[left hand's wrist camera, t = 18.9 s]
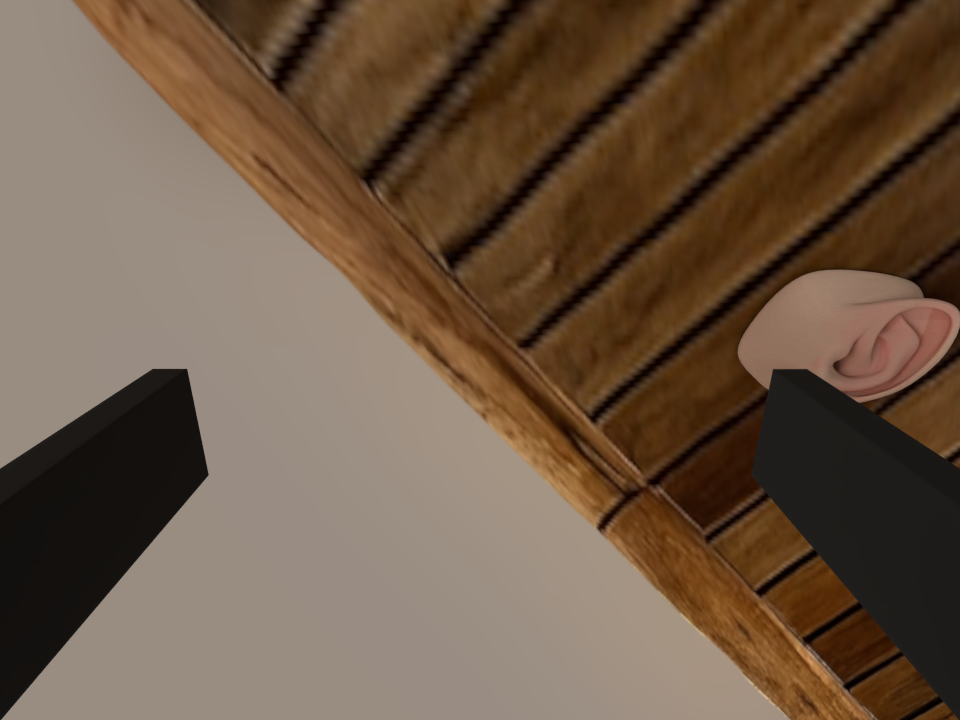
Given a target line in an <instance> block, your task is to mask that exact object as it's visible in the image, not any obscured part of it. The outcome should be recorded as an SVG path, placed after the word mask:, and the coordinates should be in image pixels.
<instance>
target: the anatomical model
mask: <svg viewBox="0 0 960 720" xmlns="http://www.w3.org/2000/svg"><path fill="white" fill-rule="evenodd" d="M959 328H960V312H959V310H958V309H957V308H956V307H955V306H954V305H952V304H950V303H948V302H945V301H941V300H937V299H930V298H924V297H923V293H922V291H921V289H920V288H919V287H918V286H917V285H916V284H915V283H913V282H911V281H909V280H906V279H903V278H900V277H896V276H892V275H887V274H881V273H875V272H867V271H856V270H823V271H816V272H812V273H808V274H806V275H803V276H801V277H799V278H797V279H795V280H794V281H792V282H791V283H789V284H788V285H786V286H785V287H784V288H783V289H781V290H780V291H779V292H778V293H777V294H776V295H775V296H774V297H773V298H772V299H771V300H770V301H769V302H768V303H767V304H766V305H765V306H764V308H763V309H762V310H761V311H760V312H759V313H758V315H757V316H756V317H755V319H754V320H753V321H752V323H751V324H750V325H749V327H748V329H747V330H746V332H745V333H744V335H743V337H742V339H741V341H740V343H739V346H738V357H739V359H740V361H741V363H742V364H743V366H744V367H745V368H746V370H747V371H748V372H749V373H750V374H751V375H752V376H753V377H754V378H755V379H756V380H757V381H758V382H759V383H760V384H762V385H763V386H764V387H765V388H767V389H768V390H769V386H770V381H771V376H772V371H773V369H808V370H809V371H811V372H812V373H814V374H816V375H817V376H819V377H820V378H822V379H823V380H825V381H826V382H828V383H829V384H831V385H832V386H834V387H835V388H837V389H838V390H840V391H842V392H843V393H845V394H846V395H848V396H849V397H851V398H852V399H854V400H855V401H857V402H858V403H861V402H865V401H869V400H873V399H877V398H881V397H884V396H887V395H890V394H892V393H895V392H897V391H899V390H901V389H903V388H905V387H907V386H908V385H910V384H912V383H913V382H914V381H916V380H917V379H919V378H920V377H922V376H923V375H924V374H925V373H927V372H928V371H929V370H930V369H931V368H932V367H933V366H935V365H936V364H937V363H938V362H939V360H940V359H941V358H942V357H943V356H944V355H945V353H946V352H947V351H948V349H949V348H950V346H951V345H952V343H953V341H954V339H955V338H956V336H957V333H958V331H959Z"/></svg>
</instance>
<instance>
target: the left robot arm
mask: <svg viewBox="0 0 960 720" xmlns="http://www.w3.org/2000/svg"><path fill="white" fill-rule="evenodd" d="M207 476H208V470H207V465H206V460H205V455H204V450H203V445H202V440H201V435H200V430H199V425H198V420H197V416H196V411H195V406H194V401H193V396H192V391H191V386H190V381H189V376H188V371H187V369H152V370H151V371H149V372H148V373H146V374H144V375H143V376H141V377H140V378H138V379H137V380H135V381H134V382H132V383H131V384H129V385H128V386H126V387H125V388H123V389H122V390H120V391H118V392H117V393H115V394H114V395H112V396H111V397H109V398H108V399H106V400H105V401H103V402H102V403H100V404H99V405H97V406H95V407H94V408H92V409H91V410H89V411H88V412H86V413H85V414H83V415H82V416H80V417H79V418H77V419H76V420H74V421H73V422H71V423H70V424H68V425H66V426H65V427H63V428H62V429H60V430H59V431H57V432H56V433H54V434H53V435H51V436H50V437H48V438H47V439H45V440H43V441H42V442H40V443H39V444H37V445H36V446H34V447H33V448H31V449H30V450H28V451H27V452H25V453H24V454H22V455H21V456H19V457H17V458H16V459H14V460H13V461H11V462H10V463H8V464H7V465H5V466H4V467H2V468H1V469H0V720H1V719H2V718H3V717H4V716H5V714H6V713H7V712H8V711H9V710H10V709H11V707H12V706H13V705H14V704H15V703H16V702H17V700H18V699H19V698H20V697H21V696H22V694H23V693H24V692H25V691H26V690H27V688H28V687H29V686H30V685H31V684H32V683H33V681H34V680H35V679H36V678H37V677H38V675H39V674H40V673H41V672H42V671H43V670H44V668H45V667H46V666H47V665H48V664H49V663H50V661H51V660H52V659H53V658H54V657H55V656H56V654H57V653H58V652H59V651H60V650H61V648H62V647H63V646H64V645H65V644H66V643H67V641H68V640H69V639H70V638H71V637H72V636H73V634H74V633H75V632H76V631H77V630H78V628H79V627H80V626H81V625H82V624H83V623H84V621H85V620H86V619H87V618H88V617H89V615H90V614H91V613H92V612H93V611H94V610H95V608H96V607H97V606H98V605H99V604H100V602H101V601H102V600H103V599H104V598H105V597H106V595H107V594H108V593H109V592H110V591H111V590H112V588H113V587H114V586H115V585H116V584H117V582H118V581H119V580H120V579H121V578H122V577H123V575H124V574H125V573H126V572H127V571H128V569H129V568H130V567H131V566H132V565H133V564H134V562H135V561H136V560H137V559H138V558H139V556H140V555H141V554H142V553H143V552H144V551H145V549H146V548H147V547H148V546H149V545H150V544H151V542H152V541H153V540H154V539H155V538H156V536H157V535H158V534H159V533H160V532H161V531H162V529H163V528H164V527H165V526H166V525H167V524H168V522H169V521H170V520H171V519H172V518H173V516H174V515H175V514H176V513H177V512H178V511H179V509H180V508H181V507H182V506H183V505H184V503H185V502H186V501H187V500H188V499H189V498H190V496H191V495H192V494H193V493H194V492H195V490H196V489H197V488H198V487H199V486H200V485H201V483H202V482H203V481H204V480H205V479H206V477H207ZM752 476H753V478H754V479H755V480H756V481H757V482H758V483H759V485H760V486H761V487H762V488H763V489H764V491H765V492H766V493H767V494H768V495H769V496H770V498H771V499H772V500H773V501H774V502H775V504H776V505H777V506H778V507H779V508H780V509H781V511H782V512H783V513H784V514H785V515H786V516H787V518H788V519H789V520H790V521H791V522H792V524H793V525H794V526H795V527H796V528H797V529H798V531H799V532H800V533H801V534H802V535H803V537H804V538H805V539H806V540H807V541H808V542H809V544H810V545H811V546H812V547H813V548H814V549H815V551H816V552H817V553H818V554H819V555H820V557H821V558H822V559H823V560H824V561H825V562H826V564H827V565H828V566H829V567H830V568H831V570H832V571H833V572H834V573H835V574H836V575H837V577H838V578H839V579H840V580H841V581H842V582H843V584H844V585H845V586H846V587H847V588H848V590H849V591H850V592H851V593H852V594H853V595H854V597H855V598H856V599H857V600H858V601H859V603H860V604H861V605H862V606H863V607H864V608H865V610H866V611H867V612H868V613H869V614H870V615H871V617H872V618H873V619H874V620H875V621H876V623H877V624H878V625H879V626H880V627H881V628H882V630H883V631H884V632H885V633H886V634H887V636H888V637H889V638H890V639H891V640H892V641H893V643H894V644H895V645H896V646H897V647H898V648H899V650H900V651H901V652H902V653H903V654H904V656H905V657H906V658H907V659H908V660H909V661H910V663H911V664H912V665H913V666H914V667H915V669H916V670H917V671H918V672H919V673H920V674H921V676H922V677H923V678H924V679H925V680H926V681H927V683H928V684H929V685H930V686H931V687H932V689H933V690H934V691H935V692H936V693H937V694H938V696H939V697H940V698H941V699H942V700H943V702H944V703H945V704H946V705H947V706H948V707H949V709H950V710H951V711H952V712H953V713H954V714H955V716H956V717H957V718H958V719H959V720H960V469H959V468H958V467H956V466H955V465H953V464H952V463H950V462H949V461H947V460H946V459H944V458H943V457H941V456H939V455H938V454H936V453H935V452H933V451H932V450H930V449H929V448H927V447H926V446H924V445H923V444H921V443H920V442H918V441H917V440H915V439H913V438H912V437H910V436H909V435H907V434H906V433H904V432H903V431H901V430H900V429H898V428H897V427H895V426H894V425H892V424H891V423H889V422H887V421H886V420H884V419H883V418H881V417H880V416H878V415H877V414H875V413H874V412H872V411H871V410H869V409H868V408H866V407H865V406H863V405H861V404H860V403H858V402H857V401H855V400H854V399H852V398H851V397H849V396H848V395H846V394H845V393H843V392H842V391H840V390H838V389H837V388H835V387H834V386H832V385H831V384H829V383H828V382H826V381H825V380H823V379H822V378H820V377H819V376H817V375H816V374H814V373H812V372H811V371H809V370H808V369H773V371H772V376H771V381H770V386H769V391H768V396H767V401H766V406H765V411H764V416H763V420H762V425H761V430H760V435H759V440H758V445H757V450H756V455H755V460H754V465H753V470H752Z"/></svg>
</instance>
